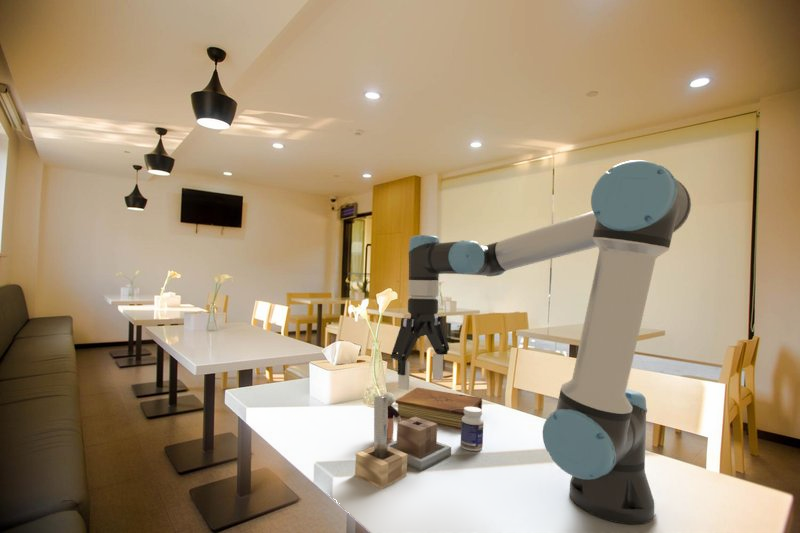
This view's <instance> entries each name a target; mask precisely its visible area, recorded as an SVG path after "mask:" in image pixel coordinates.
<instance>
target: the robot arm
mask: <svg viewBox="0 0 800 533" xmlns="http://www.w3.org/2000/svg"><path fill="white" fill-rule="evenodd" d="M691 201H692V200H691V196H690V193H689V191H688V190H687V188H686V187H685V185H684V184H682V183H681V182H680V181H679V180H678V179H677V178H675V176H674V175H673V174H672V173H671V171H670V170H669V169H668V168H666V167H664V166H662V165H660V164H657V163H656V162H652V161H648V160H643V159H635V160H628V161H625V162H621V163H619V164H616V165H614V166H612V167H611V168H610V169H608V171H606V172H605V173H603V174H602V176H600V178H599V179H598V180H597V181H596V184H594V187H593V189H592V193H591V198H590V207H591V210H592V211H588V212H586V213H582V214H579V215H577V216H573V217H570V218H568V219H565V220H560V221H558V222H555V223H552V224H548V225H546V226H541V227H539V228H536V229H533V230H530V231H527V232H523V233H520V234H517V235H513V236H512V237H509V238H505V239H502V240H498V241H497V242H496V241H495V242H492V243H490V244H486V245H480V244H479V242H477V241H474V240H459V241H449V242H440V239H439V237H438V236H437V235H431V234H430V235H429V234H424V235H423V234H422V235H421V234H418V235H414V236H411V237H410V239H409V245H408V246H409V247H408V254H407V255H408V292H407V293H408V296H409V298H408V300H407V313H408V314H410V317H402V318H401V321H400V328H399V330H398V334H397V337H396V338H395V339H396V340H395V343H394V346H393V349H392V352H391V355H390V357H391V359H393V360H394V361H397V372H396V373H397V376H398V377H397V378H398V380H397V381H398V382H397V383H398V384H397V388H398V389H401V390H406V391H408V390H410V363H411V362H410V361H409V360H408V359H409V357H410V355H411V353H412V351H413V349H414V347H415V346H416V343H417V341H418V339H420V338H421V337H424V336H426V338H427V340H428V342H429V343H430V346H431V347H432V349H433V351H434V353H432V380H436V381H443V379H444V378H443V377H444V359H445V358H444V355H448V351H450V345H449V342H448V339H447V334H446V332H445V328H444V322H443V316H439V315H436V314H438V312H439V300H438V298H437V297H439V277H440V275H441V274H444V275H445V274H446V275H448V274H449V275H453V274H454V275H469V276H471V275H472V276H483V277H484V276H485V277H495V276H497V277H498V276H500V275H501V276H502V274H504V273H505V272H506V271H510V270H513V269H516V268H521V267H526V266H529V265H532V264H537V263H540V262H545V261H548V260H552V259H556V258H560V257H564V256H567V255H568V256H569V255H571V254H576V253H580V252H583V251H588V250H591V249H595V248H598V249H599V250H598V251H599V252H598V255H597V261H596V266H595V269H594V274H593V280H592V284H591V289H590V294H589V299H588V303H587V307H586V312H585V317H584V322H583V327H582V331H581V335H580V340H579V346H578V350H577V355H576V359H575V364H574V368H573V374H572V378H571V379H570V380H569V381H567V382H565V383H563V384H561V387H560V391H559V394H558V399H557V404H556V409H555V411H553V412H551V413H550V414H549V416H548V417H547V418H546V419H545V421H544V424H543V427H542V440H543V441H542V442H543V443H544V445H543V446H544V448H545V450H546V451H547V452H548V454H549V457H550V459H551V460H552V461H553V463H555V465H556V466H558V467H559V468H560V470H562V471H563V472H565V473H567V474H568V475H570V476H571V478H570V481H569V496H570V498H571V500H572V501H573V502H574V503H575V504H576V505H577V506H578V507H579V508H581V509H582V510H584V511H586V512H588V513H590V514H591V515H593V516H596V517H597V518H601V519H604V520H607V521H610V522H615V523H619V524H620V523H621V524H627V525H641V524H646V523H649V522H651V521H652V520H653V519H654V516H655V501H654V497H653V494H652V490H651V488H650V483H649V481H648V478H647V474H646V469H645V468H646V466H645V465H646V463H645V462H646V461H645V459H646V437H647V436H646V435H647V434H646V432H647V413H648V408H647V400H646V396H644V395H643V394H642V393H641V392H639V391H636V390H633V389H629V388H628V383H629V379H630V375H631V370H632V367H633V366H632V365H633V362H634V356H635V352H636V348H637V343H638V339H639V334H640V330H641V326H642V322H643V317H644V312H645V309H646V303H647V300H648V295H649V291H650V286H651V281H652V276H653V272H654V269H655V268H654V267H655V263H656V260H657V259H658V257H660V256H661V255H664V254H665V253H667V252H668V251H669V250H670V246H671V243H672V238H673V233H675V232H676V231H678V230H679V229H680V228H681V227H683V225H684V224H685V223H686V221H687V220H688V218H689V215H690V212H691V208H692V207H691V206H692V202H691Z"/></svg>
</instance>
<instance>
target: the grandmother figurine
mask: <svg viewBox="0 0 800 533" xmlns="http://www.w3.org/2000/svg"><path fill="white" fill-rule="evenodd" d="M382 396H387V397H388V444H389V443H392V442H394V441H395V440H394V438H393V437H394V428H395V427H394V426H395V425H394V422H395V420H394V418H395V419H396V421H397V424H398V423H399V422H402V418H400V414H399V413H398V409H396V408H395V407H394V406H393V405H394V403H395V401H396V400H397V399H396V397H395V396H394V394H393V393H392V392H385V393H384V394H383V395H382Z"/></svg>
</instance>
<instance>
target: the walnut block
mask: <svg viewBox="0 0 800 533" xmlns="http://www.w3.org/2000/svg"><path fill="white" fill-rule="evenodd" d="M396 427H397V428H396V441H397V448H396V449H397V450H399V451H402V452H404V453H407V454H409V455H412V456H414V457H417V458H419V459H422V458H424V457H426V456H428V455H430V454H432V453H434V452H436V443H437V442H438V441H437V440H438V439H437V438H438V437H437V436H438V425H437V423H433V422H430V421H427V420H424V419H421V418H418V417H413V418H410V419H404V420H401V422H399V423H398V422H397V425H396Z"/></svg>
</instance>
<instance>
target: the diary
mask: <svg viewBox="0 0 800 533" xmlns="http://www.w3.org/2000/svg"><path fill="white" fill-rule="evenodd" d="M395 400H396V401H395V402H394V403H395V404H397V411H398V413H399V414H400V419H404V420H407V419H410V418H413V417H418V418H421V419H424V420H427V421H430V422H433V423H437V426H439V427H440V426H441V427H445V428H449V429H454V430H460V431H461V421H462V417H463V416H464V415H465V414H464V408H465V407H477V408H480V409H481V410H482V411H483V399H482V397H478V396H472V395H466V394H460V393H454V392H447V391H441V390H435V389H429V388H422V387H415V388H414V389H412V390H410V391H409V392H407V393H405V394H404V395H402V396H400V397H398V398H397V399H395Z"/></svg>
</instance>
